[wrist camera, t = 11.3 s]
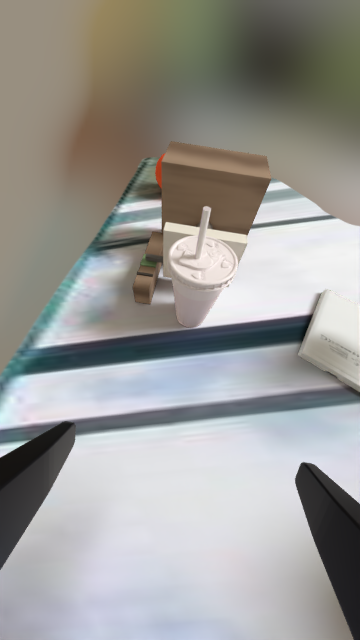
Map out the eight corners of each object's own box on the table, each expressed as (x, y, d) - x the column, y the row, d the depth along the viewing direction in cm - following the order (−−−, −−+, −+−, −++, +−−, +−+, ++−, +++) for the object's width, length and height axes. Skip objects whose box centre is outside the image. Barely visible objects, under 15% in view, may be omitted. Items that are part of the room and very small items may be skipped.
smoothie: (159, 302, 26) (155, 189, 14) (202, 291, 28) (231, 180, 16) (176, 343, 23) (189, 245, 11) (223, 328, 25) (279, 227, 13)
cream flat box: (228, 287, 26) (247, 243, 20) (145, 273, 26) (141, 226, 20) (228, 279, 27) (247, 235, 21) (148, 266, 27) (144, 218, 21)
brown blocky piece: (235, 318, 26) (284, 240, 15) (135, 301, 26) (117, 213, 15) (235, 240, 34) (266, 156, 24) (160, 228, 34) (159, 139, 24)
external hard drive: (375, 323, 28) (363, 397, 22) (319, 294, 30) (294, 356, 24) (386, 317, 26) (376, 395, 21) (326, 288, 28) (302, 351, 23)
